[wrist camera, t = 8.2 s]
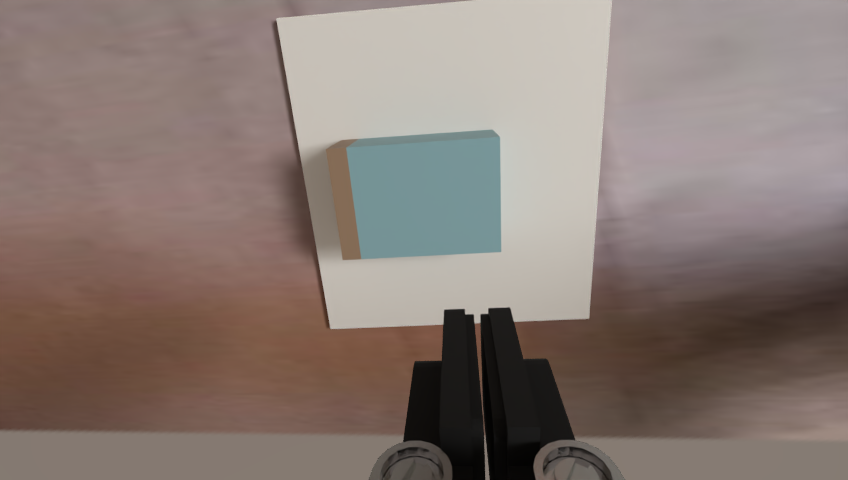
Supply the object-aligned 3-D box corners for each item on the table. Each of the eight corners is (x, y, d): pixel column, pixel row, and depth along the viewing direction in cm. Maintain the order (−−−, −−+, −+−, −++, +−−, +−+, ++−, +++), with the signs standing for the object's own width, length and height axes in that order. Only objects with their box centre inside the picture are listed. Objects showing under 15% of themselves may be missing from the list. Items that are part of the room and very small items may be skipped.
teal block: (500, 137, 24) (325, 149, 24) (501, 252, 26) (342, 260, 27) (492, 129, 27) (341, 140, 28) (494, 230, 30) (355, 238, 31)
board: (610, -11, 25) (612, -13, 24) (587, 315, 32) (589, 318, 32) (278, 19, 26) (276, 18, 26) (331, 326, 34) (330, 329, 33)
